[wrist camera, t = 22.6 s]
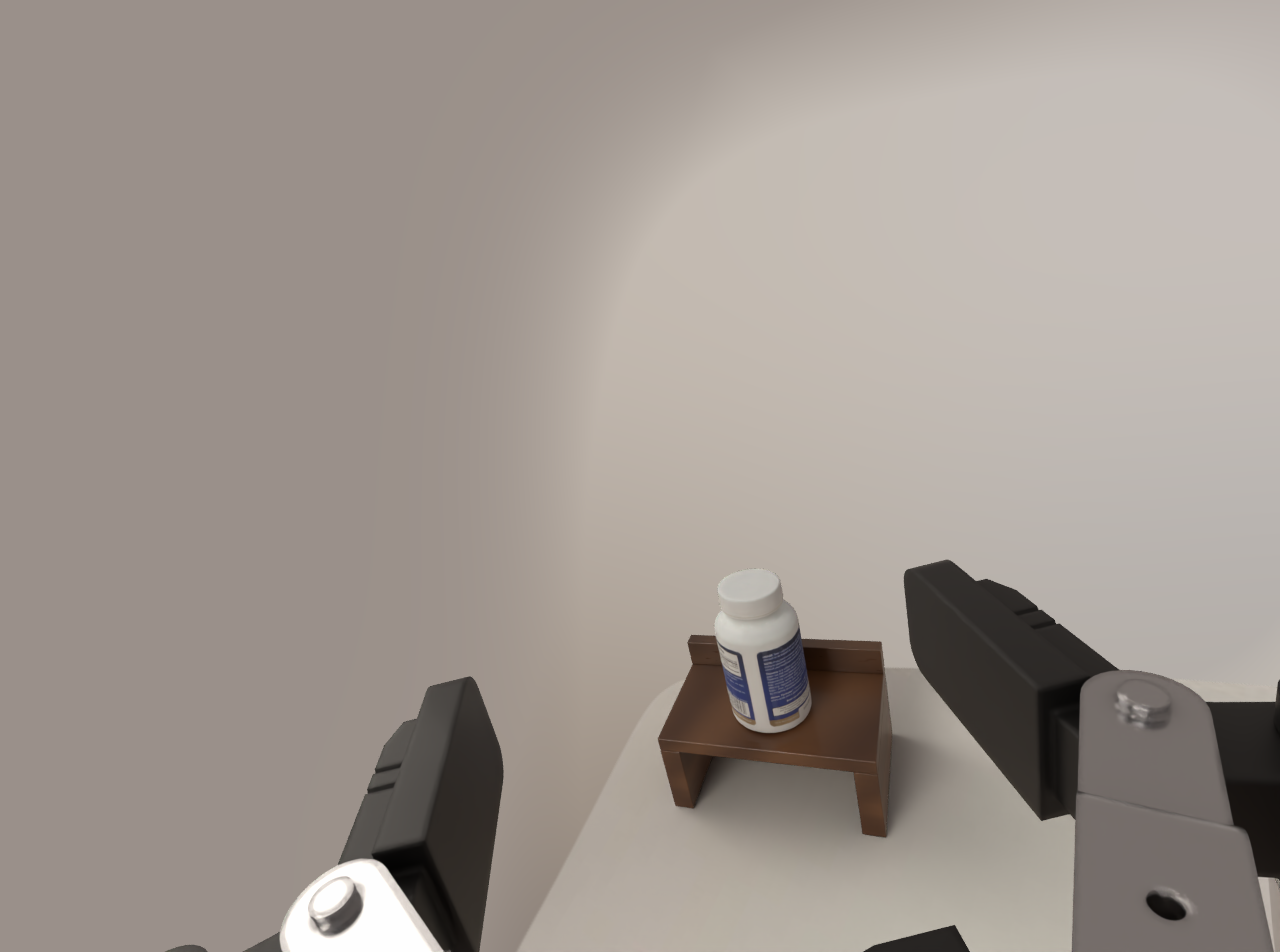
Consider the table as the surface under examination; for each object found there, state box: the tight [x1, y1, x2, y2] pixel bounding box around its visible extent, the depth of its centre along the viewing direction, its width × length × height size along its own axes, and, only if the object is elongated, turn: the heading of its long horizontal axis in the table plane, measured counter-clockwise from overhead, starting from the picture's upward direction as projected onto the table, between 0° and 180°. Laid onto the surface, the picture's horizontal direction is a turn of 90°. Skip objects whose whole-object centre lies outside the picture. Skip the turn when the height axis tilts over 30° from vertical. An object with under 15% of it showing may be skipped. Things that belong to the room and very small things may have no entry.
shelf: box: [658, 635, 892, 837], centre depth 46 cm, size 14×9×8 cm, turn 69°
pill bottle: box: [715, 568, 812, 733], centre depth 44 cm, size 5×5×10 cm
